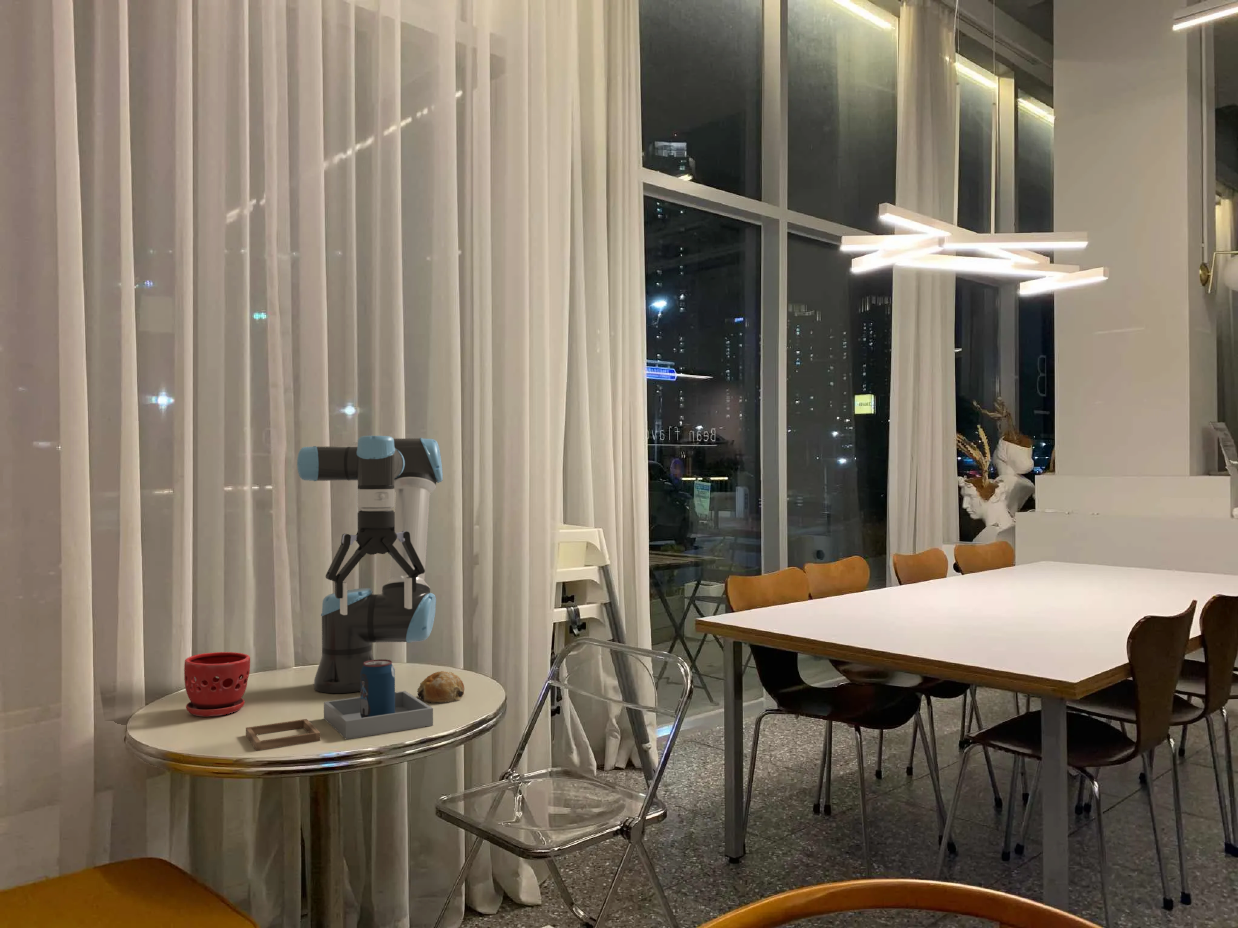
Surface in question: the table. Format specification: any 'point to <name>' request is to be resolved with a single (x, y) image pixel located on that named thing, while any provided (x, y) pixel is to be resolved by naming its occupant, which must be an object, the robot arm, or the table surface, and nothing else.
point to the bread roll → (441, 688)
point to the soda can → (377, 688)
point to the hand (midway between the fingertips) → (376, 611)
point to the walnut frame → (284, 741)
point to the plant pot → (216, 682)
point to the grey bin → (352, 725)
